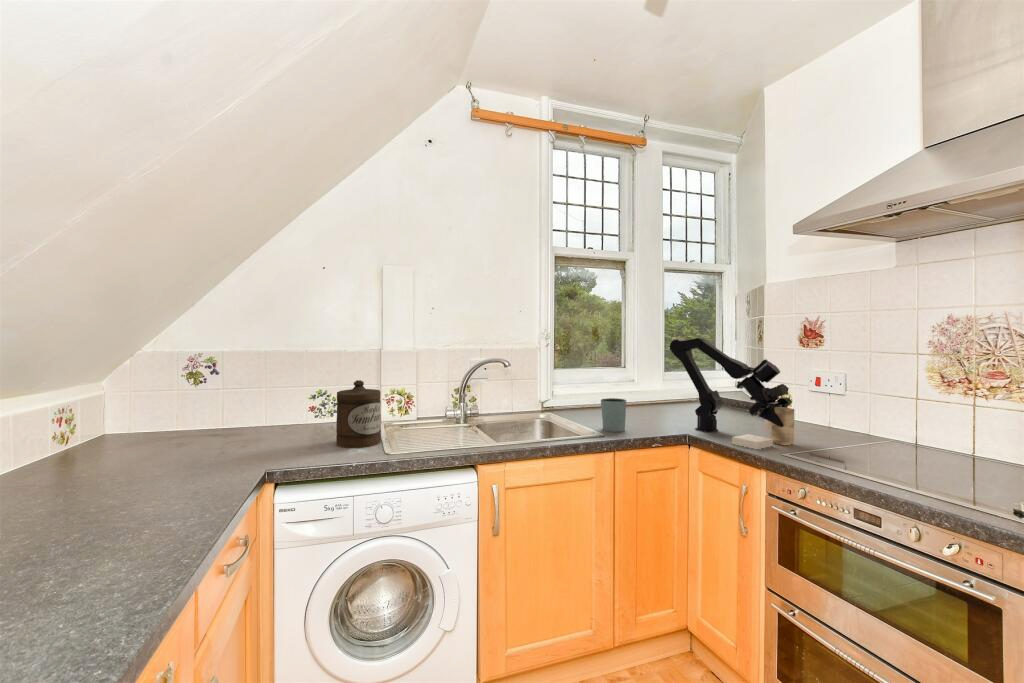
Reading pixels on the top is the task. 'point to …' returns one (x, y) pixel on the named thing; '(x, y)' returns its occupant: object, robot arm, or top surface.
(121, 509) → the top surface
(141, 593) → the top surface
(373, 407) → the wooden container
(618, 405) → the grey green cup
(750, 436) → the cream base block
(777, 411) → the oak block
